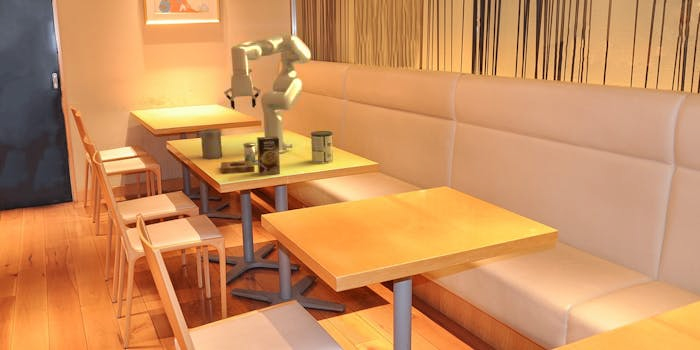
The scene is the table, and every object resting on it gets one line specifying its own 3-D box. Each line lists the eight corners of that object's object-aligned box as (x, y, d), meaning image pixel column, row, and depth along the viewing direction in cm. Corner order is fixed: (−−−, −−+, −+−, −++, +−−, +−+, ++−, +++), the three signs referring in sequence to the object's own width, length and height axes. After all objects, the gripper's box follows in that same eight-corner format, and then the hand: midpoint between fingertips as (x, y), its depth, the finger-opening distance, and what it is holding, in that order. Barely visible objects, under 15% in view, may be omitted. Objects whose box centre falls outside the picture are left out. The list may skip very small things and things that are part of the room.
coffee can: (315, 158, 314) (314, 130, 311) (335, 159, 311) (335, 131, 308) (308, 163, 304) (307, 133, 301) (329, 164, 301) (328, 134, 298)
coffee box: (259, 175, 280) (258, 139, 276) (258, 172, 286) (256, 137, 282) (280, 174, 282) (279, 138, 278) (278, 171, 288) (276, 135, 285)
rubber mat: (259, 160, 312) (259, 159, 312) (261, 164, 303) (261, 163, 303) (238, 161, 310) (238, 160, 310) (240, 165, 300) (240, 164, 300)
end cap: (255, 160, 310) (254, 142, 308) (256, 162, 304) (256, 144, 302) (243, 161, 308) (242, 142, 306) (244, 163, 303) (243, 145, 301)
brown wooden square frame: (251, 165, 300) (251, 160, 300) (254, 171, 287) (254, 166, 287) (221, 167, 297) (220, 162, 297) (223, 173, 284) (222, 168, 283)
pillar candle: (212, 154, 328) (209, 125, 324) (226, 156, 323) (224, 127, 319) (198, 158, 320) (196, 128, 316) (213, 160, 315) (210, 130, 311)
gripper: (257, 70, 309) (260, 105, 313) (221, 72, 304) (224, 108, 308) (260, 71, 302) (262, 107, 306) (223, 74, 297) (226, 110, 301)
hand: (243, 108), depth 307 cm, fingers open, 9 cm apart
